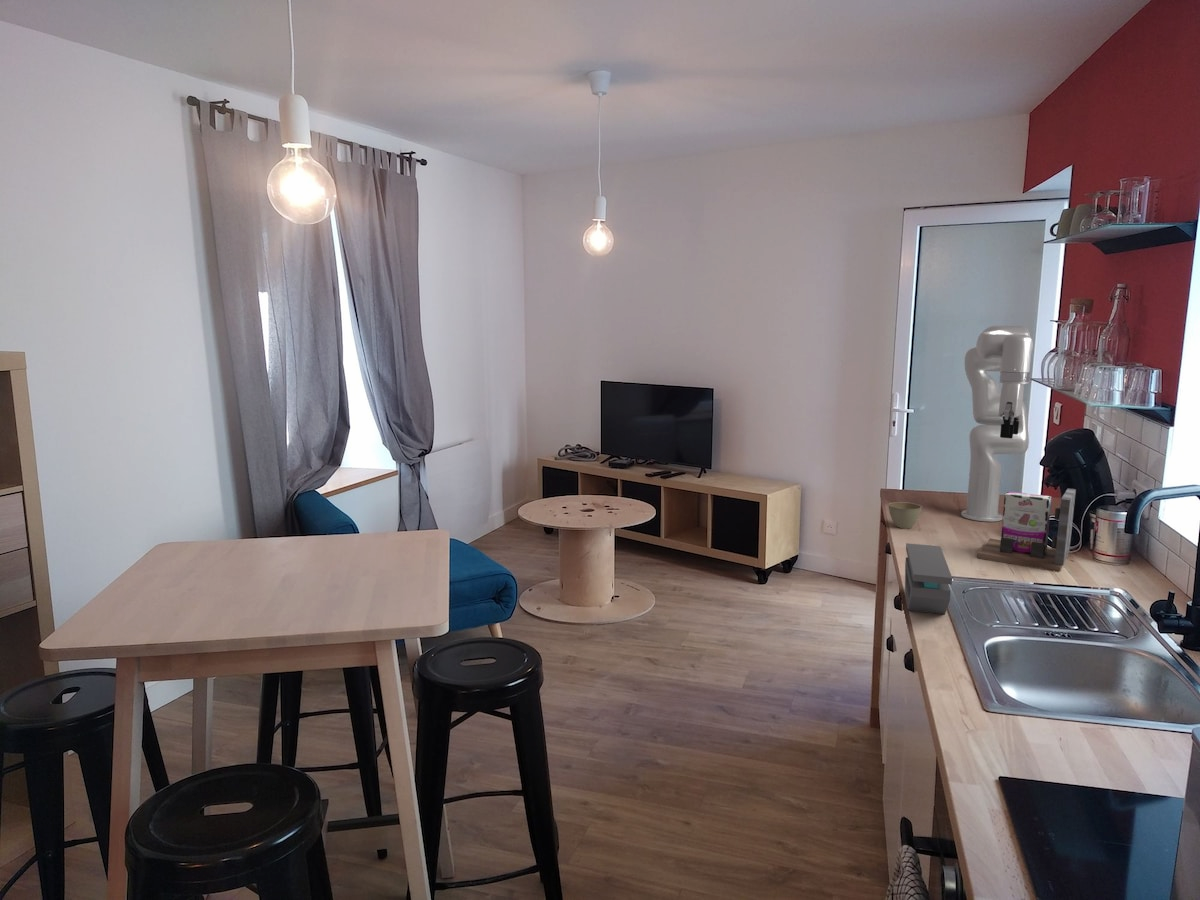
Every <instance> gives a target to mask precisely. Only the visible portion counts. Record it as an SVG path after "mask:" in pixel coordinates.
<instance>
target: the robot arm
mask: <svg viewBox="0 0 1200 900" xmlns="http://www.w3.org/2000/svg"><path fill="white" fill-rule="evenodd" d="M1033 341H1034V340H1033V338H1032V337H1031V332H1030V330H1029V329H1028V327H1027V326H1023V325H992V326H988V327H987V328H985V329H984V330H983V331H982V332H981V333H980V334H979V336H978V337H977V341H976V346H975V347H972V348H969V350H967V351H966V353H965V356H964V371H965V375H966V378H967V380H968V382H969V385H970V388H971V393H972V394H971V396H972V398H971V399H972V414H973V418H974V421H975V422H976V423H977V424H979V425H976V426H974V427H973V428H972V429H971V430H970V433H969V447H970V448H969V449H970V461H969V462H970V463H969V475H968V476H969V479H968V489H967V500H966V509H964V510H962V511H961V512H960V515H961V517H963V518H965V519H968V520H972V521H976V522H986V523H987V522H993V523H994V522H1000V521H1003V514H1001V513H999V501H1000V493H1001V492H1000V491H1001V479H1002V472H1003V471H1002V465H1001V463H1000V462H999V461H998V459H997V458H996V457H995V455H1015V456H1016V455H1023V454H1025V453H1026V452H1027V451H1028V448H1029V443H1030V438H1029V437H1030V436H1029V435H1030V434H1029V425H1028V412H1027V407H1026V403H1025V402H1024V392H1025V391H1024V388H1025V385H1026V384H1027V385H1028V384H1029V383H1030V371H1031V360H1032V353H1033V349H1034V342H1033ZM988 372H998V373H999V372H1000V373H999V374H1000V375H999V383H998V381H996V379H995V378H993V376H991V375H990V374H989V373H988ZM999 384H1002V385H1001V386H1002V387H1001V388H1000V385H999ZM1000 390H1001V391H1000Z"/></svg>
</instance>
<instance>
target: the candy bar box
mask: <svg viewBox="0 0 1200 900" xmlns="http://www.w3.org/2000/svg"><path fill="white" fill-rule="evenodd" d="M1003 498H1004V499H1003V509H1002V511H1003V512H1002V516H1003V518H1002V522H1001V524H1002V525H1001V535H1000V538H1001V537H1002V538H1009V539H1013V549H1012V551H1014V552H1020V553H1027V554H1030V553H1031V543H1032V542H1035V543H1042V544H1044V553H1043V556H1044V555H1045V554H1046V551H1047V547H1048V543H1047V541H1048V540H1049V529H1050V518H1051V517H1050V516H1051V507H1052V495H1043V494H1034V493H1025V492H1018V491H1016V492H1014V491H1007V492H1006V493H1005V494H1004V497H1003Z"/></svg>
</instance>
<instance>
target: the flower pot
mask: <svg viewBox="0 0 1200 900" xmlns="http://www.w3.org/2000/svg"><path fill="white" fill-rule="evenodd" d="M922 508H923V506H922V505H920V504H917V503H913V502H903V501H898V502H897V501H895V502H889V503H888V510H889V514H890V517H891V520H892V522H893V524H894V526H895V527H896V526H897V527H896V528H898V527H900V528H899V529H903V528H910V529H912V528H914V526H915V525H916V523H917V522H918V520H919V518H920V515H921V512H922Z"/></svg>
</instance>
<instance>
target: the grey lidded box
mask: <svg viewBox="0 0 1200 900" xmlns="http://www.w3.org/2000/svg"><path fill="white" fill-rule="evenodd" d="M905 550H906V551H905V552H906V556H907V557H905V561H904V563H905V564H904V566H905V567H904V596H905V599H906V600H905V601H906V605H907V606H906V607H907V611H911V612H912V611H913V612H923V613H930V614H939V615H946V613H947V610H948V607H949V604H950V601H951V588H950V586H952V585H953V576H952V574H951V571H950V568H949V566H948V563H947V561H946V560H947V559H946V558H945V555H944V553H943V550H942V547H941V545H932V544H920V543H906V545H905Z"/></svg>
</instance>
